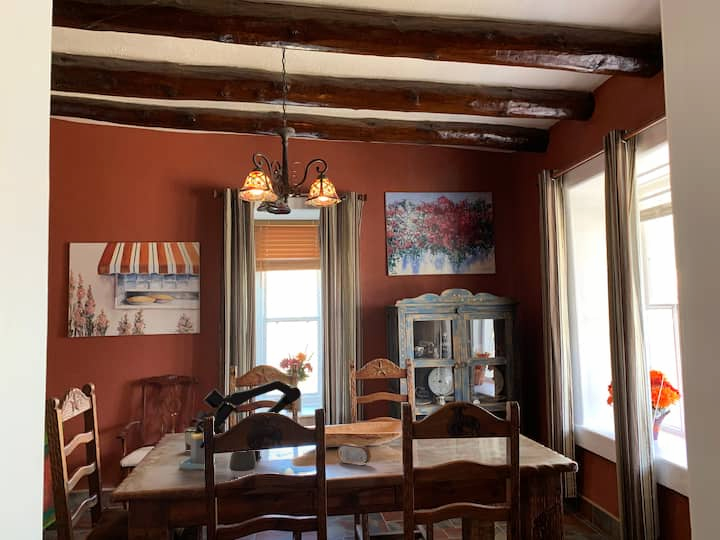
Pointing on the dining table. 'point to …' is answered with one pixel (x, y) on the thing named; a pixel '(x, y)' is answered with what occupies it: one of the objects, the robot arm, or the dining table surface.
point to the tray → (191, 465)
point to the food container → (189, 437)
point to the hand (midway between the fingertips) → (195, 445)
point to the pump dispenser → (242, 463)
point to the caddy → (197, 449)
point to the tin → (353, 453)
